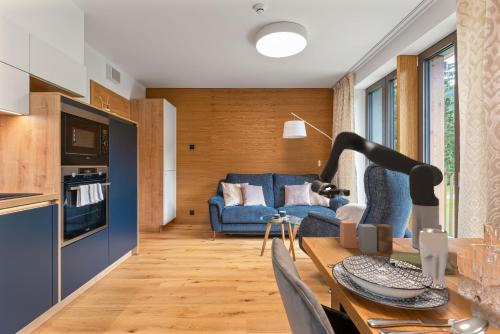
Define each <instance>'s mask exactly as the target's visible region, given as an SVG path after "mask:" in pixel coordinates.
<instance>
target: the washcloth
mask: <svg viewBox="0 0 500 334" xmlns="http://www.w3.org/2000/svg"><path fill="white" fill-rule="evenodd" d="M391 258H392V259H395V260H399V261H402V262H406V263H409V264H412V265H415V266H416V267H418V268H420V269H422V266H421V261H420V256H419V252H412V251H394V252H393V253H391V254H390V256H389V259H391ZM454 272H455V269H454V268H453V266H452V264H451V260H450V258H449V257H448V258H447V263H446V267H445V275H453V274H454Z"/></svg>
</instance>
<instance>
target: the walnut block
mask: <svg viewBox="0 0 500 334" xmlns="http://www.w3.org/2000/svg"><path fill="white" fill-rule="evenodd" d="M372 225H374V226H376V227H377V254H392V253H394V252H393V251H394V248H393V247H394V245H393V243H394V242H393V234H394V233H393V229H394V228H393V226H391V225H389V224H387V223H373V224H372Z"/></svg>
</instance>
